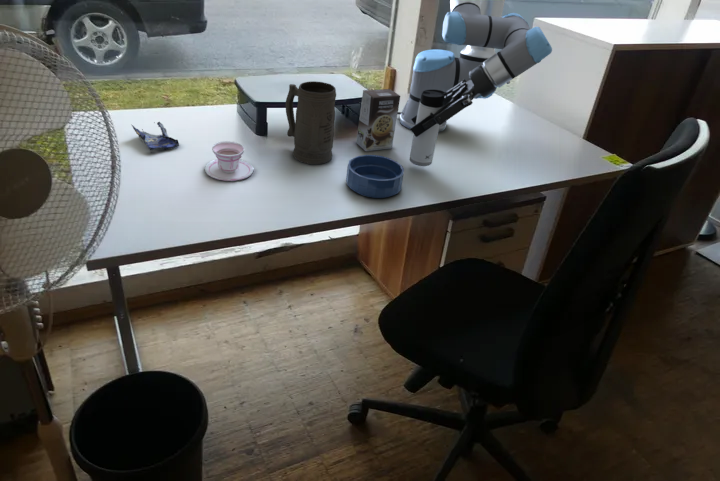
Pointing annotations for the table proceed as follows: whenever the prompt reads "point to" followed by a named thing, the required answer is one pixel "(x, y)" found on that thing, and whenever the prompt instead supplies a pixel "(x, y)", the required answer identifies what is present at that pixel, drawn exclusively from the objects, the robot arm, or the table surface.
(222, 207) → the table surface
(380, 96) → the cookie box
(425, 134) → the travel mug
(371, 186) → the bowl
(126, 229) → the table surface
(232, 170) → the teacup
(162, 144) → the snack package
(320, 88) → the beer stein
